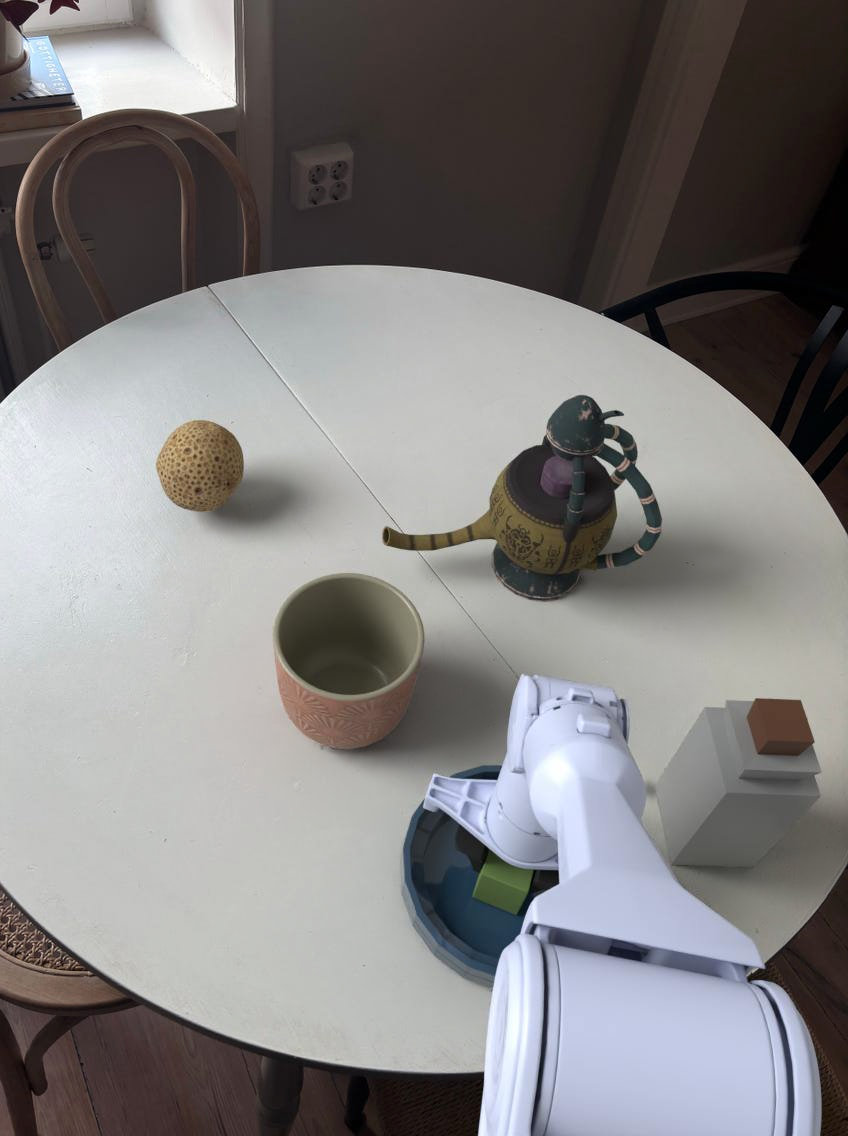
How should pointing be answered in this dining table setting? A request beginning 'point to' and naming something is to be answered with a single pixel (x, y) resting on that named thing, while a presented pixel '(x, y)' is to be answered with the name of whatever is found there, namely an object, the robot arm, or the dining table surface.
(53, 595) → the dining table surface
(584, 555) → the teapot
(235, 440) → the natural sponge
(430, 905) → the bowl
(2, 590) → the dining table surface
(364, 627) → the planter
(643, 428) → the dining table surface
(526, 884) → the scrub pad
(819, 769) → the perfume bottle
